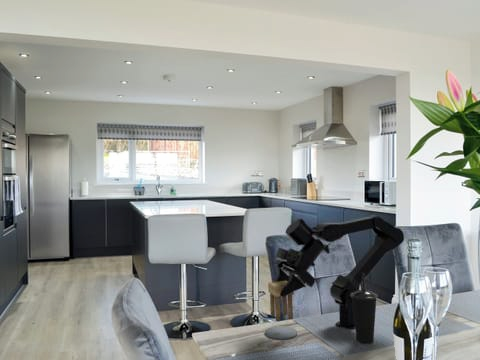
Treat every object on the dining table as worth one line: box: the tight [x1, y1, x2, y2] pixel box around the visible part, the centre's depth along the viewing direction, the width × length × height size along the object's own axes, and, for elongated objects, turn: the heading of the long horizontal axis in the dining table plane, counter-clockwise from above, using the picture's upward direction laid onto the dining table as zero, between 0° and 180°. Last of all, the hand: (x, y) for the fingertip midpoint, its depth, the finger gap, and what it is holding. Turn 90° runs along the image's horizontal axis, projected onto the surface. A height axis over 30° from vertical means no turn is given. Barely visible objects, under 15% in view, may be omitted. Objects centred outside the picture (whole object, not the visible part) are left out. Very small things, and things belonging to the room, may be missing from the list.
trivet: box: [264, 325, 298, 340], centre depth 132 cm, size 10×10×1 cm
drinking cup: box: [351, 273, 378, 345], centre depth 124 cm, size 8×8×20 cm
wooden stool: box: [267, 281, 295, 322], centre depth 131 cm, size 6×6×10 cm
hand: (276, 293), depth 131 cm, fingers closed on wooden stool, 6 cm apart
